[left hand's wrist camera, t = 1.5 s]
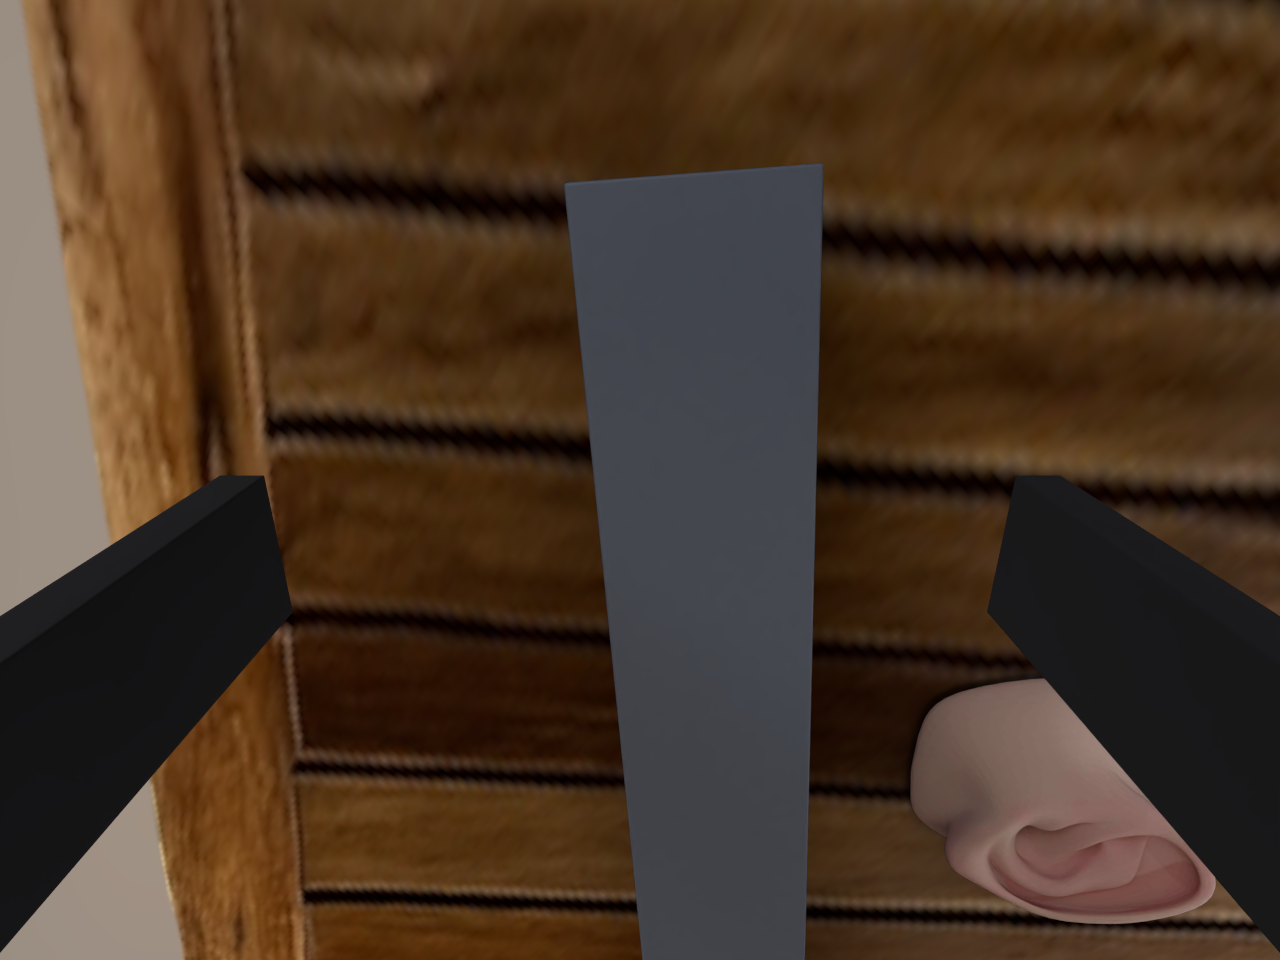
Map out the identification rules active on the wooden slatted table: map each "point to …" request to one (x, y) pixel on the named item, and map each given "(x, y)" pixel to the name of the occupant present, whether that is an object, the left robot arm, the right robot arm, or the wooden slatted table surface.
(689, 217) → the bar
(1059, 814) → the anatomical model
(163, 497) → the wooden slatted table surface
